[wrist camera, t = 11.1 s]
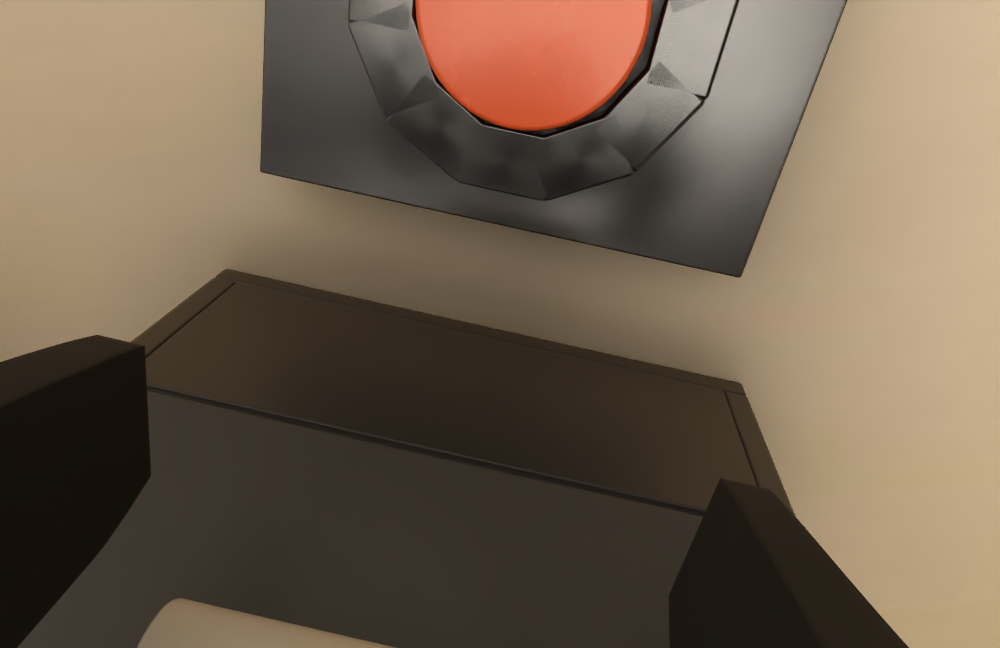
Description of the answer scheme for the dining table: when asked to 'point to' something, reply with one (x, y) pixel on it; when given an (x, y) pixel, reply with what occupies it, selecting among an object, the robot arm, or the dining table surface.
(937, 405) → the dining table surface
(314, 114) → the button pad
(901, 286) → the dining table surface
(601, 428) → the dark grey box
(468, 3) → the button
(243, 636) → the box lid
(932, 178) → the dining table surface
